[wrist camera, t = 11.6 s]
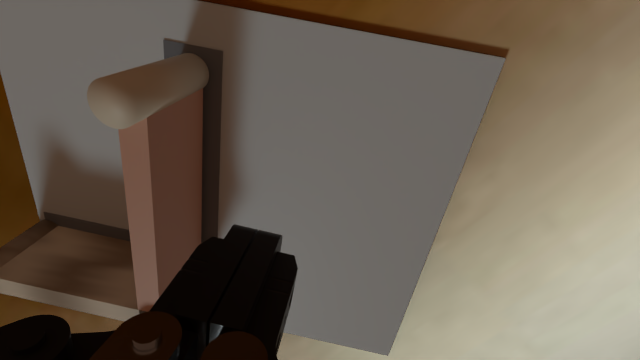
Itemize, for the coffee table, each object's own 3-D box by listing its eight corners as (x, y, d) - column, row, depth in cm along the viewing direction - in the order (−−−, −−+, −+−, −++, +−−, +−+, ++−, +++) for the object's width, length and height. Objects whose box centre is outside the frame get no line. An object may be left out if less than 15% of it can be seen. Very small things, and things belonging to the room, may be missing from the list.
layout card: (503, 57, 16) (506, 58, 16) (387, 352, 26) (387, 356, 25) (-24, -42, 17) (-32, -43, 17) (59, 278, 27) (55, 281, 26)
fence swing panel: (205, 254, 23) (154, 332, 17) (178, 248, 23) (120, 323, 17) (209, 57, 17) (134, 82, 12) (173, 49, 17) (83, 72, 12)
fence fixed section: (208, 254, 23) (155, 337, 18) (208, 274, 24) (157, 359, 18) (36, 216, 24) (-70, 285, 18) (42, 237, 25) (-58, 309, 19)
